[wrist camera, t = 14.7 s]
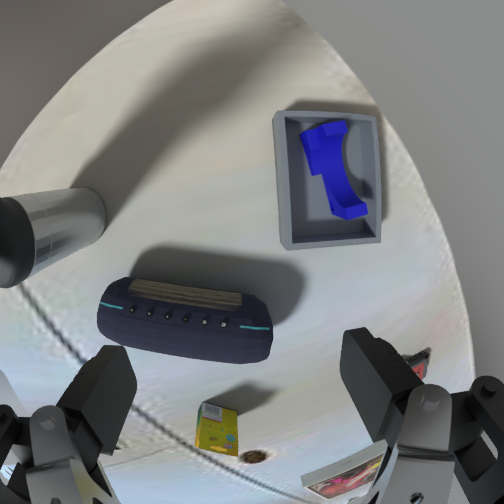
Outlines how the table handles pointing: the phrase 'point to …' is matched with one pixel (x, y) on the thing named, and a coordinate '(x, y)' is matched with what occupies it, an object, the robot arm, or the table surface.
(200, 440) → the crayon box
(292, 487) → the table surface
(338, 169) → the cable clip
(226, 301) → the portable speaker
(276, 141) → the bin
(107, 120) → the table surface
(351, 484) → the product packaging
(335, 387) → the table surface
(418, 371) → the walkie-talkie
